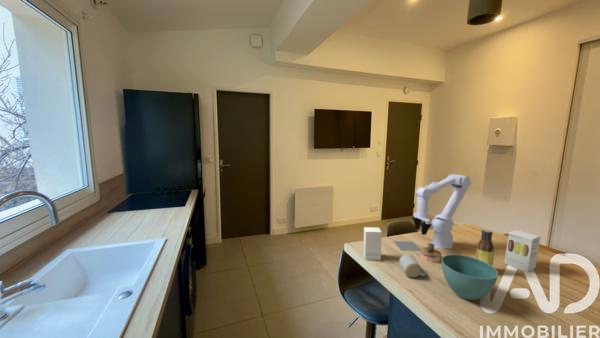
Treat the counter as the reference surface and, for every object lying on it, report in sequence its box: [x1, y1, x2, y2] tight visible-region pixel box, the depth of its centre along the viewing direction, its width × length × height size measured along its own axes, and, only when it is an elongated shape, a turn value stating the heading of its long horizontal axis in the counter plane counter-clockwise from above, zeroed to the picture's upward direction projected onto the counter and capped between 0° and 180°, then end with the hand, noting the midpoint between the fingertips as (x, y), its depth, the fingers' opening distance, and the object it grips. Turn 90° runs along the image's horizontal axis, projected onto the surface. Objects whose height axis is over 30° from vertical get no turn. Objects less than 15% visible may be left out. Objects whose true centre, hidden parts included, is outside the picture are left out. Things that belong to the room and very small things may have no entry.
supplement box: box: [503, 229, 541, 273], centre depth 116 cm, size 10×9×17 cm
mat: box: [392, 240, 421, 252], centre depth 137 cm, size 12×12×1 cm
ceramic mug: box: [398, 253, 427, 278], centre depth 108 cm, size 11×8×8 cm
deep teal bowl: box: [441, 254, 499, 301], centre depth 94 cm, size 18×18×12 cm
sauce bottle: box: [475, 228, 495, 267], centre depth 111 cm, size 6×6×20 cm
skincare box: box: [362, 226, 383, 261], centre depth 122 cm, size 8×7×16 cm
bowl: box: [420, 252, 442, 264], centre depth 123 cm, size 9×9×3 cm
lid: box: [419, 242, 442, 258], centre depth 122 cm, size 10×10×5 cm
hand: (420, 231), depth 133 cm, fingers open, 7 cm apart
